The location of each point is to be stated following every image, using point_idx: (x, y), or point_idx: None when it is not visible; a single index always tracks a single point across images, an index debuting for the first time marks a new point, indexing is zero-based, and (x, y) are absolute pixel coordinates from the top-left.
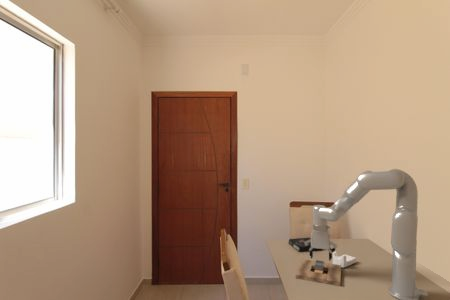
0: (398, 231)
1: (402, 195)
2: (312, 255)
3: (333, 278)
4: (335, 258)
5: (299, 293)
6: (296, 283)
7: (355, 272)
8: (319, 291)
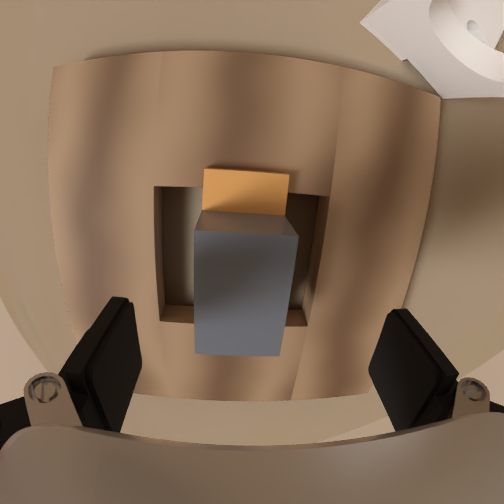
0: None
1: None
2: (129, 333)
3: (340, 370)
4: (419, 24)
5: None
6: None
7: (489, 152)
8: (246, 442)
